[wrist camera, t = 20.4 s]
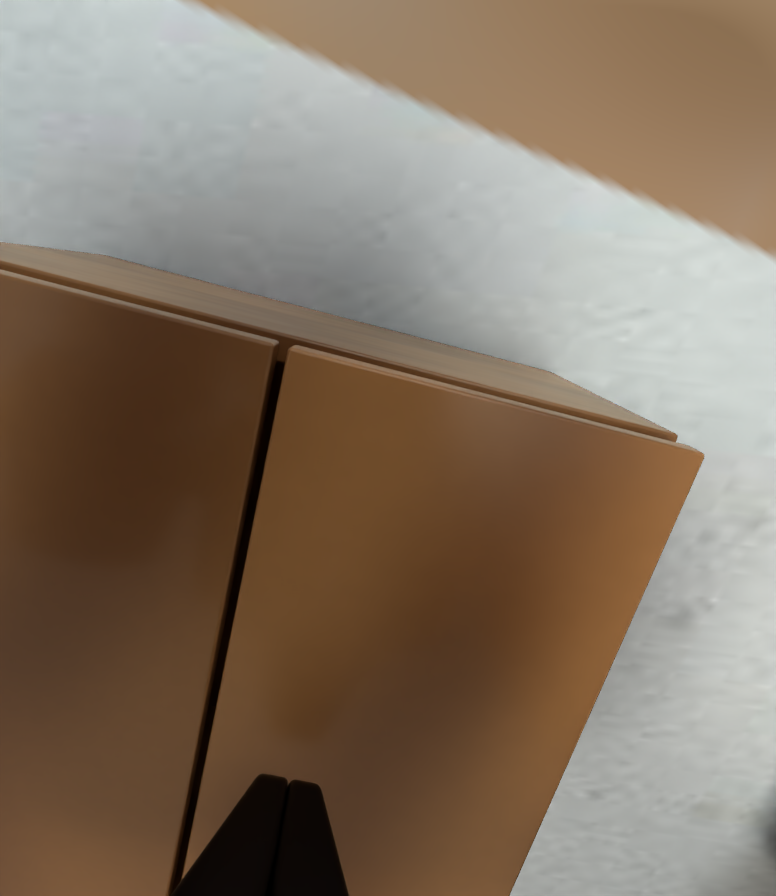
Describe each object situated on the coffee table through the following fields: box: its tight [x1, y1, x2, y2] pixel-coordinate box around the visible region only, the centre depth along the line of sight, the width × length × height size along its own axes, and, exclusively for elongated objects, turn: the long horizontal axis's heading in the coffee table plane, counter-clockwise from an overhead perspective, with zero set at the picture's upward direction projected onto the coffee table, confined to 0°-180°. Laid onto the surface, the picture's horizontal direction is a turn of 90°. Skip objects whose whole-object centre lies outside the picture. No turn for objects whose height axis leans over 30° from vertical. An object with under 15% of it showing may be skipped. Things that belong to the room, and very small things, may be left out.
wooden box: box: [0, 242, 677, 896], centre depth 11 cm, size 11×12×7 cm
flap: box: [181, 345, 704, 896], centre depth 8 cm, size 5×12×1 cm, turn 166°
